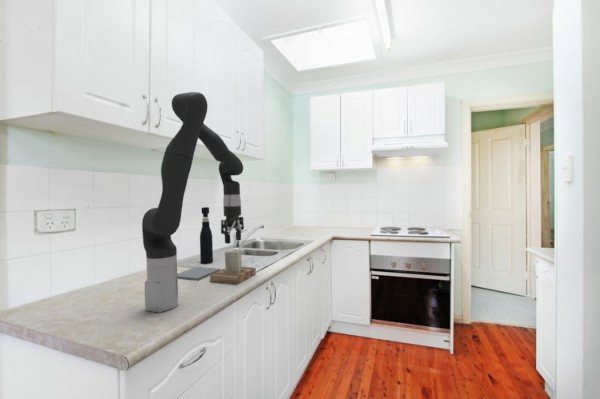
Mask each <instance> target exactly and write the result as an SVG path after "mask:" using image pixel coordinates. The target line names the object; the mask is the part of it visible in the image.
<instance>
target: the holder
mask: <svg viewBox="0 0 600 399" xmlns="http://www.w3.org/2000/svg"><path fill="white" fill-rule="evenodd" d="M256 270H257V269H256V267H252V266H251V267H250V266H242V272H240V273H238V274H236V273H226V268H225V267H224V268H223V269H220V271H218V272H216V273H214V274H212V275H210V278H209V279H210V283H213V284H215V283H216V284H224V285H234V286H235V285H236V286H238V285H239V284H241V283H243V282H244V281H246V280H248V279H250V278H252V277H253V276H255V275H257V274H256V272H257V271H256Z"/></svg>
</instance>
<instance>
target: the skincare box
mask: <svg viewBox="0 0 600 399" xmlns="http://www.w3.org/2000/svg"><path fill="white" fill-rule="evenodd" d="M224 263H225V265H224V266H225V267H224V269H225V268H226V273H236V274H238V273H240V272H242V267H243V265H242V250H241V249H232V250H231V249H228V250H226V251H224Z"/></svg>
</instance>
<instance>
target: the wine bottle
mask: <svg viewBox="0 0 600 399" xmlns="http://www.w3.org/2000/svg"><path fill="white" fill-rule="evenodd" d="M201 214H202V222H201V229H200V233H199V252H200V253H199V254H200V264H201V265H208V264H212V263H213V264H214V255H213V254H214V252H213V248H214V247H213V233H212V229H211V227H210V221H209V220H210V219H209V214H210V207H207V206H203V207H201Z"/></svg>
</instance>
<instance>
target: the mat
mask: <svg viewBox="0 0 600 399" xmlns="http://www.w3.org/2000/svg"><path fill="white" fill-rule="evenodd" d="M218 271H221V268H216V267H215V268H214V267H204V266H203V267H202V266H195V267H191V268H190V269H187V270H186V269H185V270H184V271H181V272H177V279H178V280H188V281H200V280H203V279H205V278H207V277H209V276H210V275H212V274H214V273H216V272H218Z"/></svg>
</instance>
